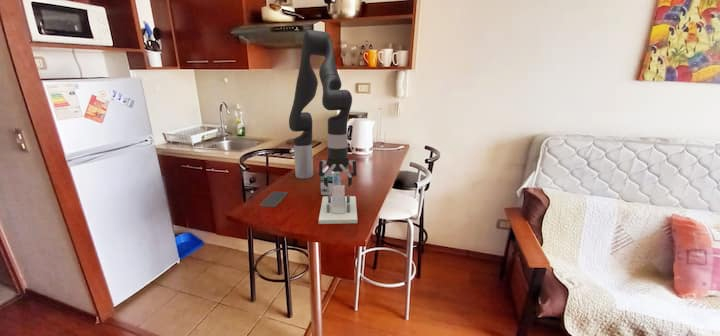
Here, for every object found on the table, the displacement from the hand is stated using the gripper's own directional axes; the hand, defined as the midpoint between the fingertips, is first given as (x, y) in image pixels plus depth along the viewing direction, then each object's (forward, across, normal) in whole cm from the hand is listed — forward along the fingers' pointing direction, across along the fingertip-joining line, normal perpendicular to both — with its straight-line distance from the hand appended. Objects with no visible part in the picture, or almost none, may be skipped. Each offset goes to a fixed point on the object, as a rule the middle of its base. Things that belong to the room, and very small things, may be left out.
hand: (337, 186), depth 117 cm
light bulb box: (+11, +4, -21) cm, 24 cm away
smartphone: (+11, +28, -12) cm, 32 cm away
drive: (+9, 0, 0) cm, 9 cm away
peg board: (+10, 0, 0) cm, 10 cm away
